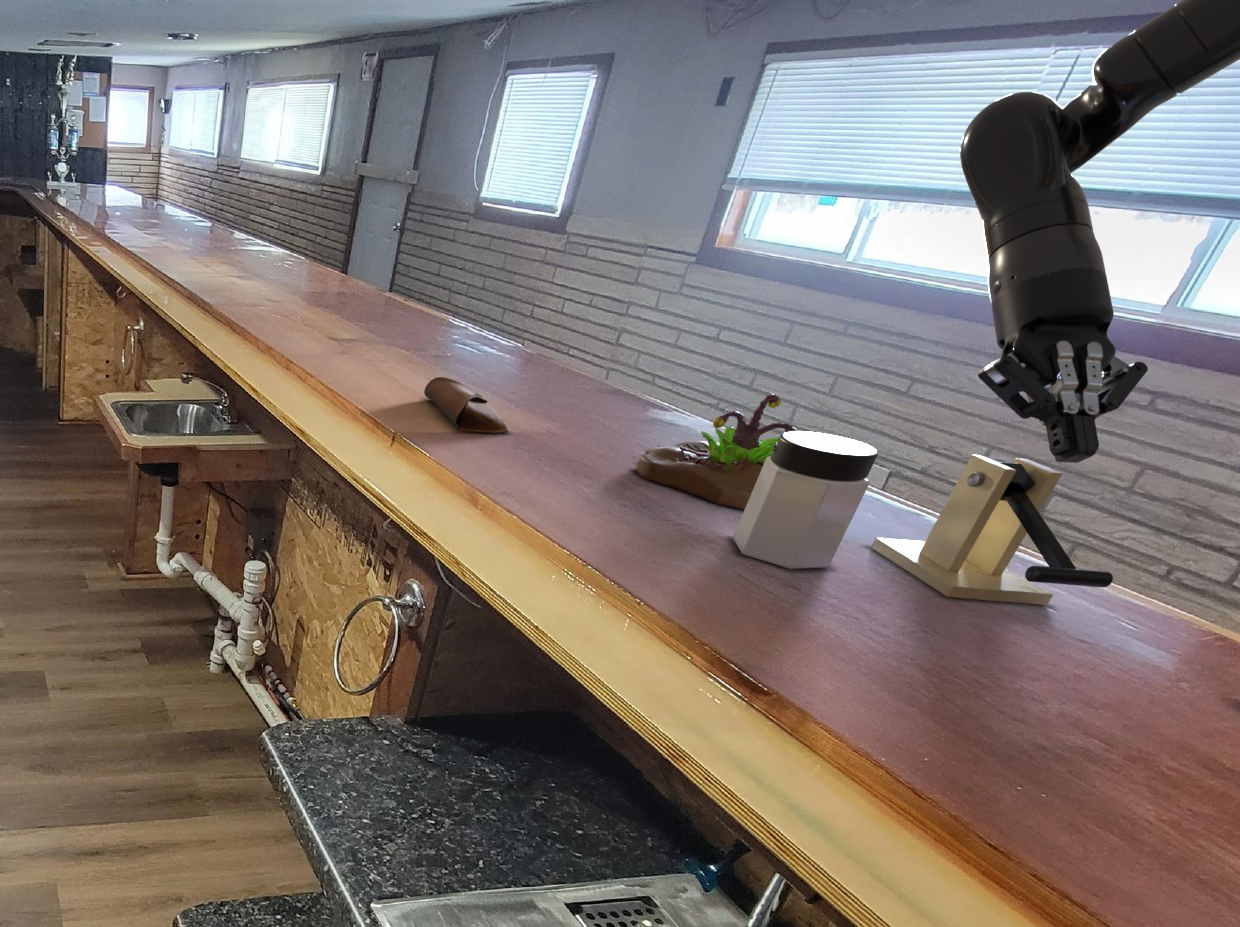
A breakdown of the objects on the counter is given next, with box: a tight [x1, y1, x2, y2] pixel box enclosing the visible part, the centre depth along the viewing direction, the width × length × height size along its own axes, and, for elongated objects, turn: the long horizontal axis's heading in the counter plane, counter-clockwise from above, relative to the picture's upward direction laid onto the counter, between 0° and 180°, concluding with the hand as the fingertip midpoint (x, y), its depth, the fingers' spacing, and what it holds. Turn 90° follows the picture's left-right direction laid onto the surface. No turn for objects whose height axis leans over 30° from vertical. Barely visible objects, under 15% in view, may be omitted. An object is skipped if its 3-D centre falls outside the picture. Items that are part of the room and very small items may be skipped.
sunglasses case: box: [423, 376, 509, 434], centre depth 136 cm, size 18×7×7 cm
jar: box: [732, 430, 879, 570], centre depth 91 cm, size 9×8×12 cm
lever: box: [997, 461, 1114, 588], centre depth 83 cm, size 14×6×2 cm, turn 174°
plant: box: [636, 393, 798, 511], centre depth 111 cm, size 20×20×11 cm
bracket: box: [870, 454, 1063, 606], centre depth 88 cm, size 12×9×12 cm
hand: (1076, 458), depth 80 cm, fingers closed
